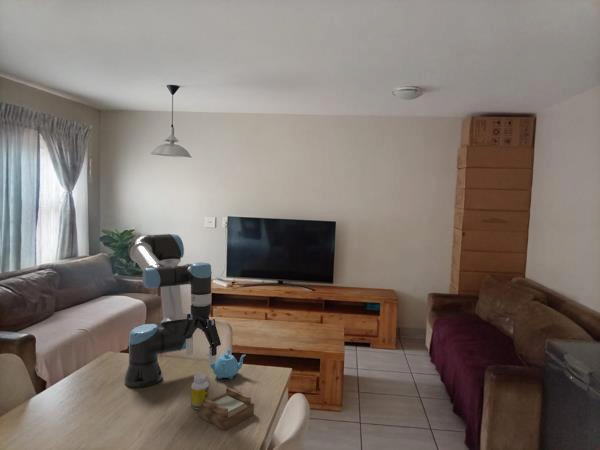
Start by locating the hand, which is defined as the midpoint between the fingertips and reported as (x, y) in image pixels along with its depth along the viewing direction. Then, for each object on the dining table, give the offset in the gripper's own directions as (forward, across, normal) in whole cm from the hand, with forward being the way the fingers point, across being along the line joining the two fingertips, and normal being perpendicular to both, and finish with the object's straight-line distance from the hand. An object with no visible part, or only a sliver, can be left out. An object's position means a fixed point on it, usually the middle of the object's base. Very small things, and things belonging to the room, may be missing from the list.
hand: (200, 359), depth 154 cm
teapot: (+18, -12, +24) cm, 33 cm away
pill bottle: (+19, 0, 0) cm, 19 cm away
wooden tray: (+18, +13, +2) cm, 22 cm away
